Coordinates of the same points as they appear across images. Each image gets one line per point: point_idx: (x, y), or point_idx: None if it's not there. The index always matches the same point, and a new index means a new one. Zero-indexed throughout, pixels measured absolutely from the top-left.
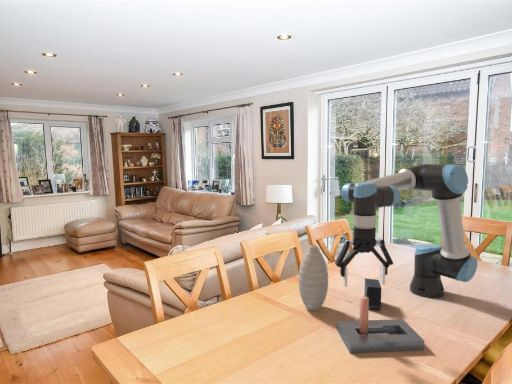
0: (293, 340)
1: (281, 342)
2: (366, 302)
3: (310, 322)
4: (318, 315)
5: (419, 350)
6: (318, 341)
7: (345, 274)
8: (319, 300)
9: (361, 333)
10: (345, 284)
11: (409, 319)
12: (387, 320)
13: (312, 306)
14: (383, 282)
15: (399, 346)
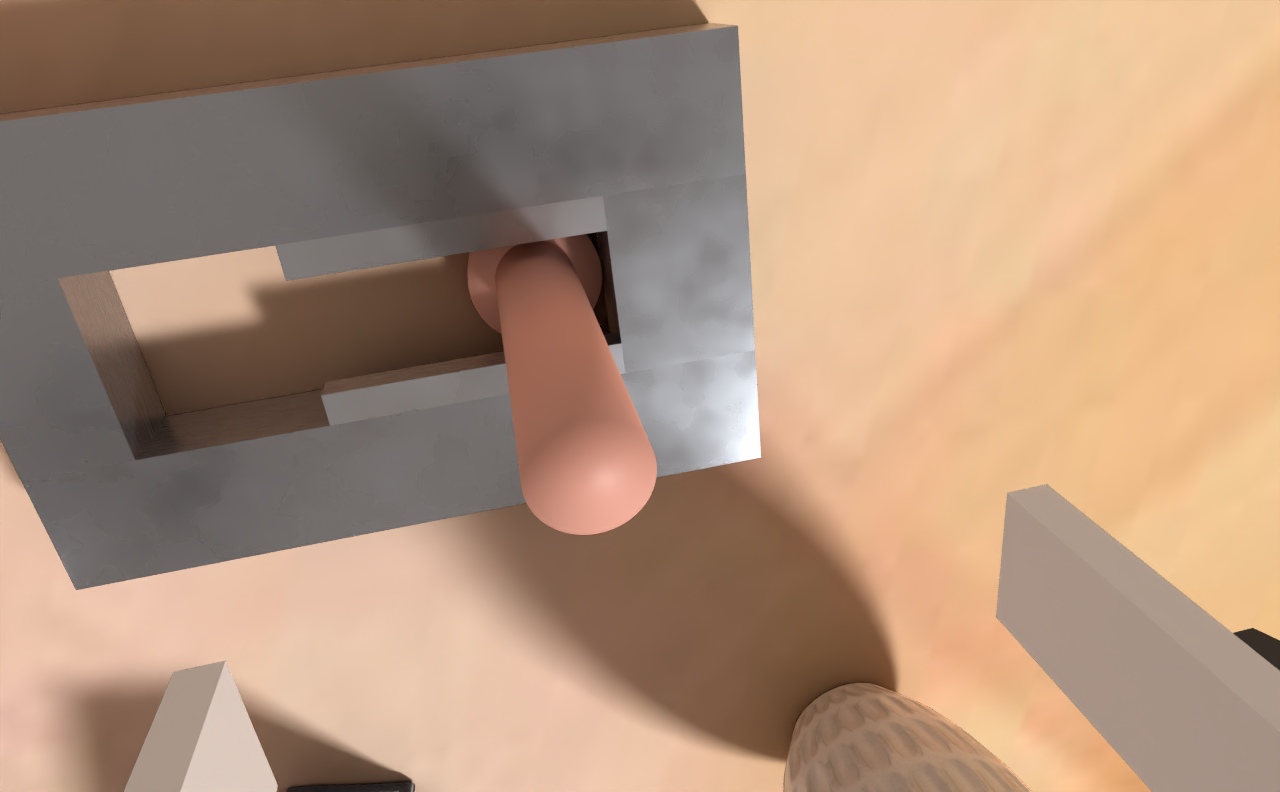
0: (1127, 211)
1: (1226, 170)
2: (564, 399)
3: (920, 508)
4: (831, 622)
5: None
6: (933, 212)
7: (1261, 661)
8: (861, 741)
9: (568, 265)
10: (1067, 510)
11: (22, 687)
12: (252, 539)
13: (888, 696)
14: (192, 710)
15: (189, 92)
